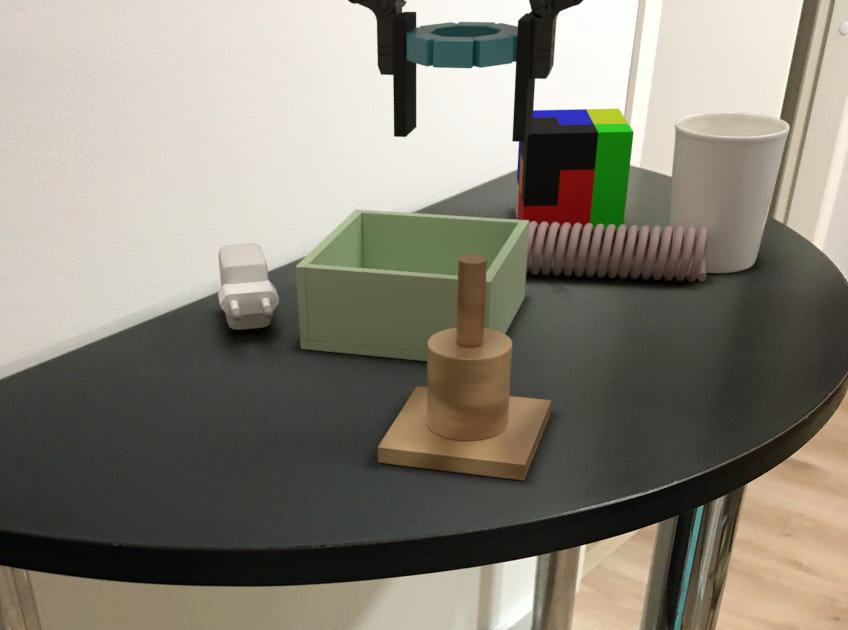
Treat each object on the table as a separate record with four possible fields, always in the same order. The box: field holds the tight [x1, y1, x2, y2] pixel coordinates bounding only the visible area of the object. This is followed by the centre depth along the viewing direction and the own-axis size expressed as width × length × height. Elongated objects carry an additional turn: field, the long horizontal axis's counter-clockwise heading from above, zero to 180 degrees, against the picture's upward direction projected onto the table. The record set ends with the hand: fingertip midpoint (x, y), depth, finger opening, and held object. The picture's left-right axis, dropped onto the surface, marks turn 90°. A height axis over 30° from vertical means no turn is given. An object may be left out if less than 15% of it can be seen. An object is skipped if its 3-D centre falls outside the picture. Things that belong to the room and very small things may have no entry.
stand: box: [377, 254, 552, 481], centre depth 73 cm, size 10×10×12 cm
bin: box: [295, 208, 529, 362], centre depth 93 cm, size 16×16×7 cm
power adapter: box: [217, 243, 280, 331], centre depth 92 cm, size 11×5×6 cm, turn 10°
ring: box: [406, 21, 518, 69], centre depth 66 cm, size 7×7×1 cm
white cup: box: [667, 111, 791, 274], centre depth 102 cm, size 10×10×12 cm
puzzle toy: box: [514, 108, 635, 234], centre depth 112 cm, size 10×10×10 cm
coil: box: [526, 221, 708, 282], centre depth 101 cm, size 5×5×18 cm
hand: (463, 133), depth 69 cm, fingers closed on ring, 7 cm apart
